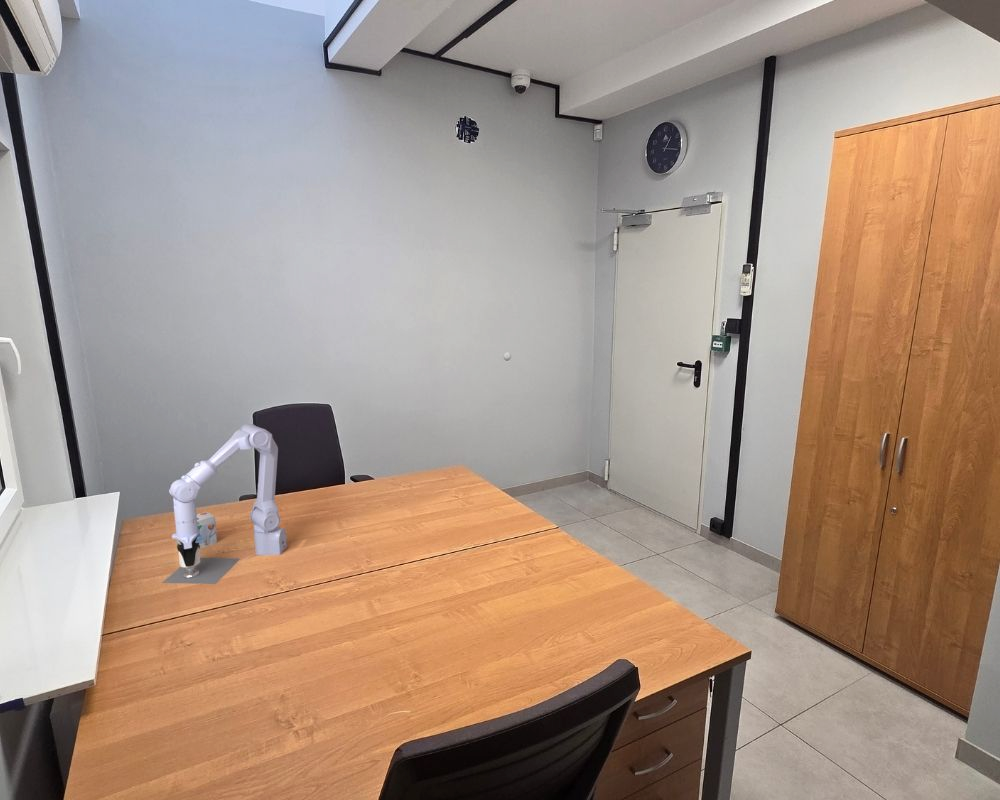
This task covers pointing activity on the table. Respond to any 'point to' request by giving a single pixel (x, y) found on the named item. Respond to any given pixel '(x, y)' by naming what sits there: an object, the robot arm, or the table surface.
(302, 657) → the table surface
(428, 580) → the table surface
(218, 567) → the base plate
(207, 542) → the light bulb box
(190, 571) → the chrome cabinet knob
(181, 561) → the cap
